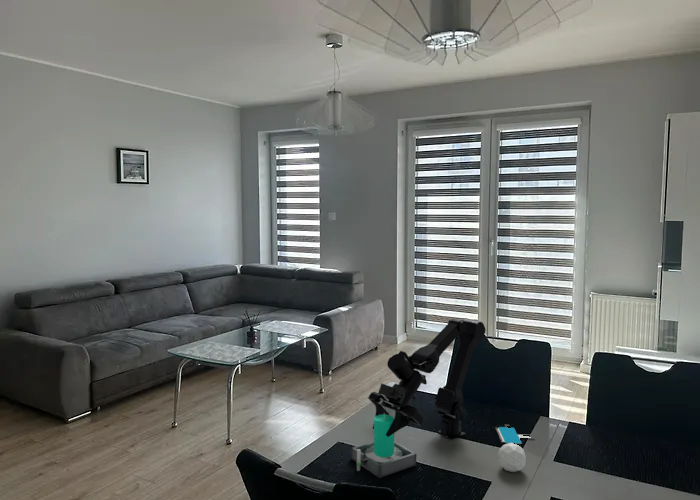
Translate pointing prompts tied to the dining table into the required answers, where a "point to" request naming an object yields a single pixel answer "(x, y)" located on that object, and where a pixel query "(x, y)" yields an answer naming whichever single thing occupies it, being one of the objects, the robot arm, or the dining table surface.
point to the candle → (383, 436)
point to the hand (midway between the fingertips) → (380, 432)
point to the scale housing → (387, 467)
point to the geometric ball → (512, 457)
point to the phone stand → (509, 435)
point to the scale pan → (380, 460)
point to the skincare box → (390, 411)
